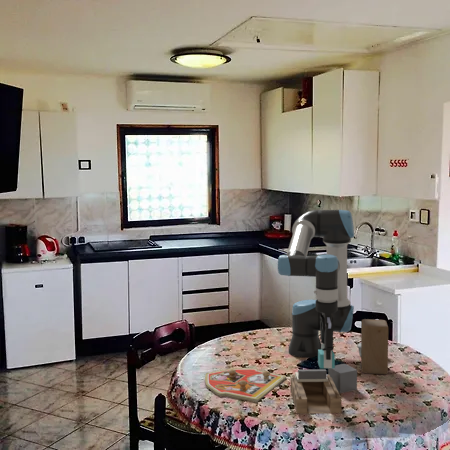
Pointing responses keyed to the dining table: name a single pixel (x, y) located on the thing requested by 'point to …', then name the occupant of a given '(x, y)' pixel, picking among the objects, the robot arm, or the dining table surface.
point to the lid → (311, 375)
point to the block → (321, 359)
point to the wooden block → (374, 346)
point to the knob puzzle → (242, 383)
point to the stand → (344, 377)
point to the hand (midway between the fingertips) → (326, 364)
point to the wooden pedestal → (315, 397)
